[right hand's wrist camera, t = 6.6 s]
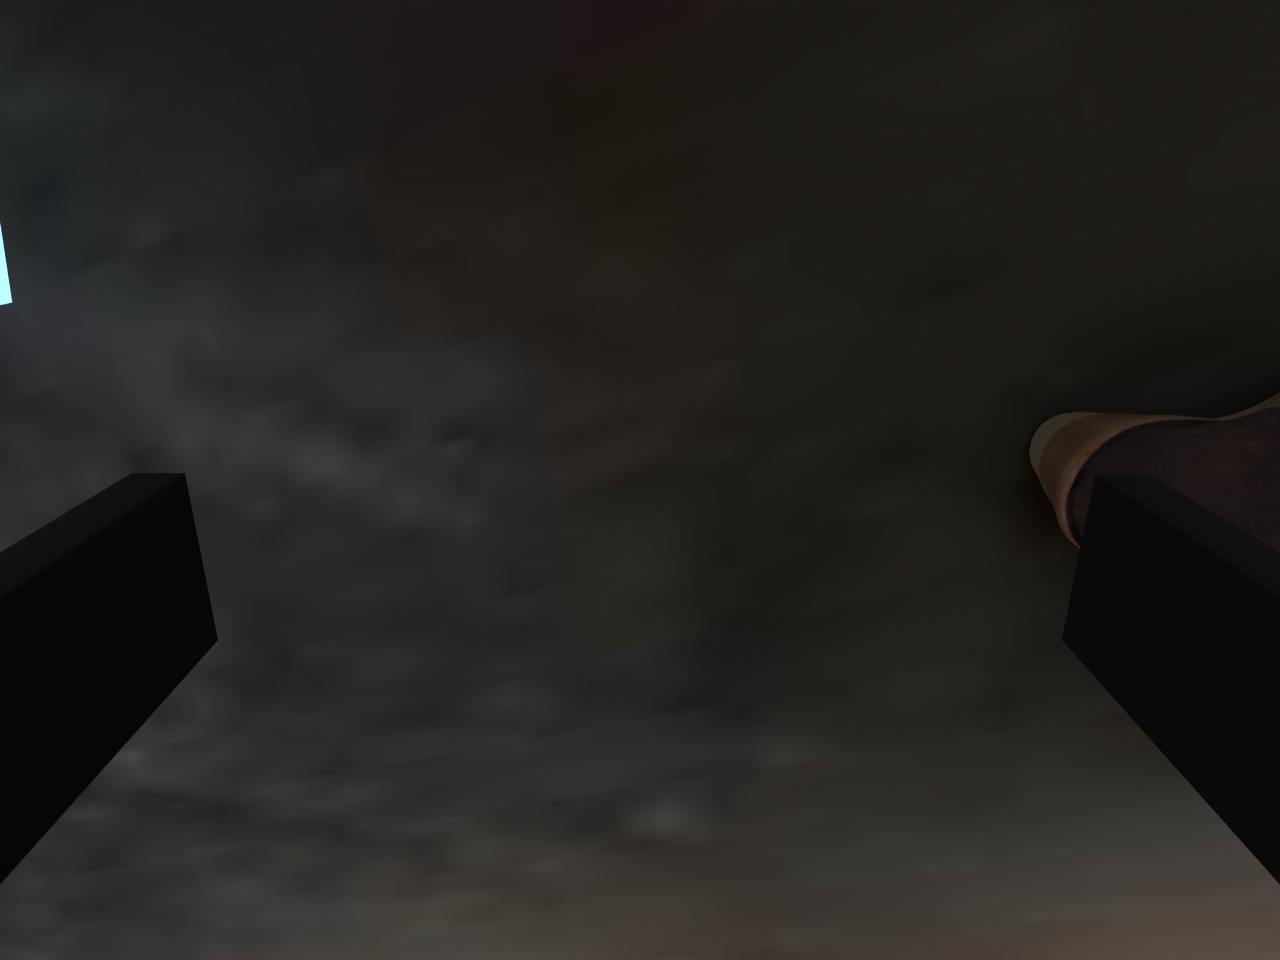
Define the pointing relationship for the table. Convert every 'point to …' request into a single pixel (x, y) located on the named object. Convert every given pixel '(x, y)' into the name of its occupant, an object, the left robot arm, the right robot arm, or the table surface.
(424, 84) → the table surface
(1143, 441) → the boot
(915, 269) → the table surface
